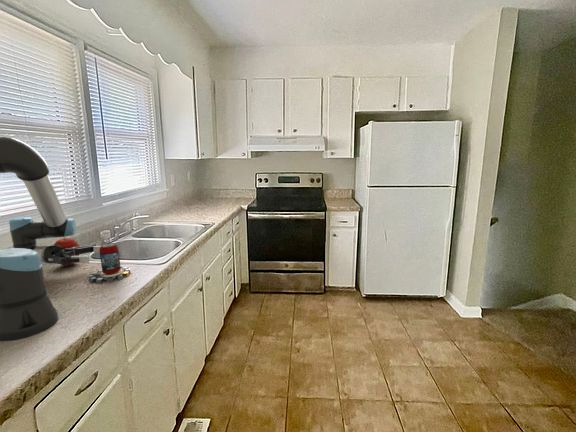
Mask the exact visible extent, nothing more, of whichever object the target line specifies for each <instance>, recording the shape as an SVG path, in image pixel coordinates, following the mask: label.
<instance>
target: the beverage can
mask: <svg viewBox="0 0 576 432" xmlns="http://www.w3.org/2000/svg"><path fill="white" fill-rule="evenodd" d="M100 246H101V247H100V249H99V251H100V252H99V257H100V264H101V269H102V272H103V273H104V274H108V275H109V274H115V273H117V272H118V271H120V270H121V268H120V266H121V262H120V254H119V253H120V252H119V247H118V245H117V243H115V242H108V243H103V244H101V245H100Z"/></svg>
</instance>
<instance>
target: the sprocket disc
mask: <svg viewBox="0 0 576 432" xmlns="http://www.w3.org/2000/svg"><path fill="white" fill-rule="evenodd" d="M120 268H121V270H120V271H118V272H117V273H115V274H109V275H108V274H104V273H103V272H102V268H101V269H97V271H92V272H91V273H90V274H89V275H88V281H89V282H90V283H93V284H94V283H96V284H103V283H104V282H106V283H113V282H114V281H116V280H117V281H120V280H122V279H124V277H125V278H126V277H128V276H130V274H131V268H129V267H128V266H121V265H120Z"/></svg>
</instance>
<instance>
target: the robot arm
mask: <svg viewBox="0 0 576 432" xmlns="http://www.w3.org/2000/svg"><path fill="white" fill-rule="evenodd" d="M6 173H7V174H8V173H13V174H15V175H16V177H17V178H18V179H19V180H21V181H22V182H23V184H24V185H25V187H26V189H27V190H28V193H29V195H30V196H31V199H32V201H33V203H34V204H35V205H34V206H35V207H36V208H37V211H38V212H39V214H40V216H41V219H42V220H35V221H34V220H33V218H32V217H31V216H21V217H20V216H19V217H14V218H12V219H10V220H9V221H8V224H9V232H10V237H11V240H12V241H11V242H12V246H11V247H10V248H4V249H0V341H13V340H18V339H23V338H26V337H29V336H34V335H36V334H39V333H42V332H43V331H45V330H48V328H50V327H52V326H54V325H55V324H56V323H57V322H58V321H59V314H58V310H57V308H56V307H54V305H53V303H52V301H51V299H50V298H49V297H48V292H47V288H46V282H45V277H44V272H43V271H44V270H43V266H44V265H46V264H49V265H50V264H57V265H60V266H63V265H66V263H68V265H70V266H72V265H71V262H72V263H74V264H88V263H90V258H89V255H83V254H90V253H100V251H99V249H100V247H101V245H97V244H95V243H92V244H87V245H81V246H80V245H79V247H70V249H69V248H66V249H63V248H62V247H61V246H59V245H54V244H52V245H49V244H48V245H37V240H41V239H52V238H53V239H54V238H65V237H70V236H71V237H72V236H74V235H75V234H76V232H77V226H76V225H77V224H76V221H75V219H74V218H67V217H66V215H65V212H64V209H63V207H62V205H61V203H60V200H59V197H58V196H57V192H56V191H55V188H54V185H53V183H52V182H51V179H50V176H49V173H50V167H49V165H48V164H47V161H46V160H45V158H44V157H43V156H42V155H41V154H40V153H39V151H37V150H36V149H34V148H33V147H32V146H31V145H29V144H28V143H26V142H24V141H21V140H19V139H16V138H14V137H9V136H0V174H6ZM74 253H75V254H74ZM78 254H79V256H77V255H78ZM70 257H71V258H70Z"/></svg>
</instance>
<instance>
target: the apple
mask: <svg viewBox="0 0 576 432" xmlns="http://www.w3.org/2000/svg"><path fill="white" fill-rule="evenodd" d="M53 245H59V246H61V247H62V248H63V249H66V248H69V249H70V247H79V246H80V245H79V243H78V242H77V240H75V239H74V238H65V237H63V238H60V239H58V240H56V241H55V243H54V244H53ZM74 254H75V253H74ZM77 256H80V254H78V255H77ZM70 258H71V257H70ZM73 265H75V263H72V262H71V265H68V263H66V265H62V267H68V266H69V267H70V266H73Z"/></svg>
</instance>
